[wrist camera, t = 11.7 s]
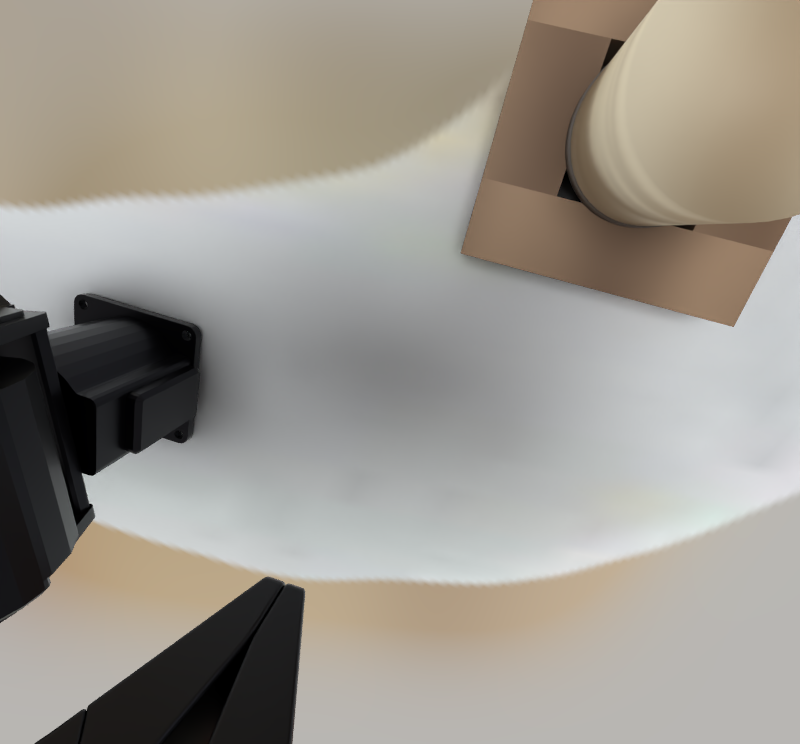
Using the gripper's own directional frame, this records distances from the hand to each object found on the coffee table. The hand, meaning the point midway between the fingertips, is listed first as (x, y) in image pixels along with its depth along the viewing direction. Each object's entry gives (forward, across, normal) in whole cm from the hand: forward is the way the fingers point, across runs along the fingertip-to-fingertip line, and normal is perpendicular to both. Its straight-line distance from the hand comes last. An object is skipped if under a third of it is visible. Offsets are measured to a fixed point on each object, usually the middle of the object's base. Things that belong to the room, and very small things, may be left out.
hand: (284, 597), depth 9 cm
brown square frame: (+12, -6, -11) cm, 18 cm away
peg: (+12, -6, -11) cm, 18 cm away
